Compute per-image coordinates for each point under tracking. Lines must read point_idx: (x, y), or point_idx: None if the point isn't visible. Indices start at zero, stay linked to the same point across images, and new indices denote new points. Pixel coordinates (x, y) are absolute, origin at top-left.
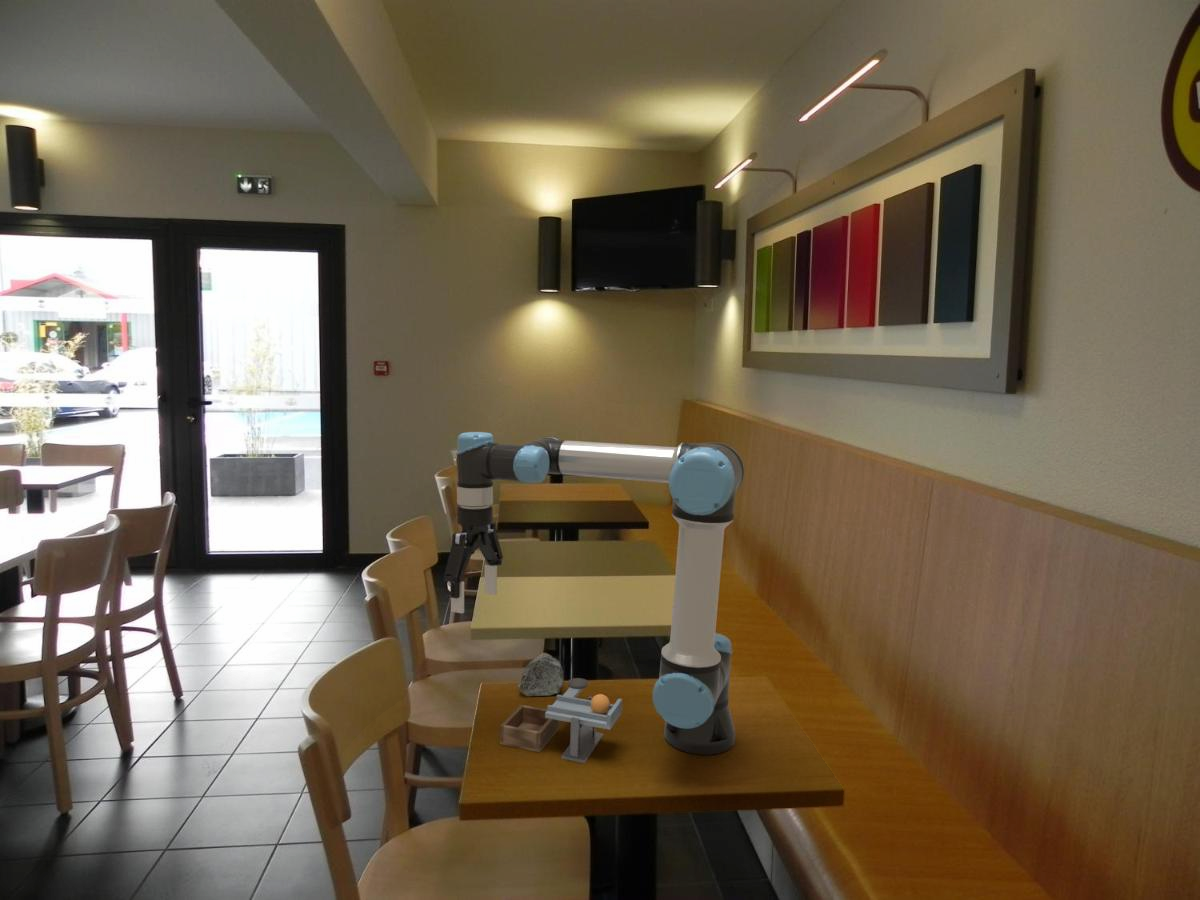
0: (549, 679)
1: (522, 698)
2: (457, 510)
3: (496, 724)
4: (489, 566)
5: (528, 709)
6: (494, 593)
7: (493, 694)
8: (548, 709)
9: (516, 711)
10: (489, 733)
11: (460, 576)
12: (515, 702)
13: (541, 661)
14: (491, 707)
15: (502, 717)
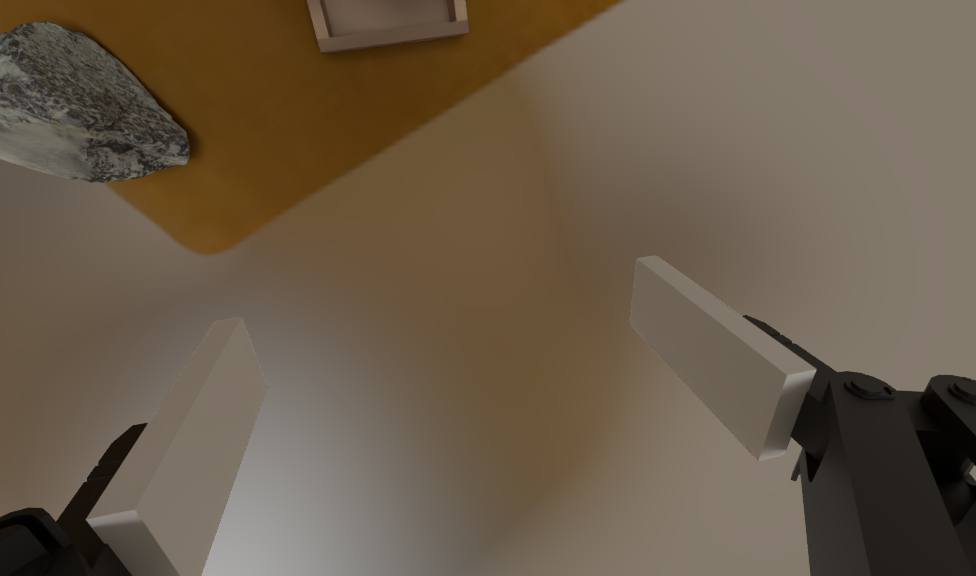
0: (83, 68)
1: (203, 134)
2: None
3: (379, 109)
4: (172, 550)
5: (323, 15)
6: (239, 327)
7: (246, 220)
8: None
9: (367, 39)
10: (428, 96)
11: (895, 415)
12: (240, 138)
13: (65, 106)
14: (311, 178)
15: (338, 117)
